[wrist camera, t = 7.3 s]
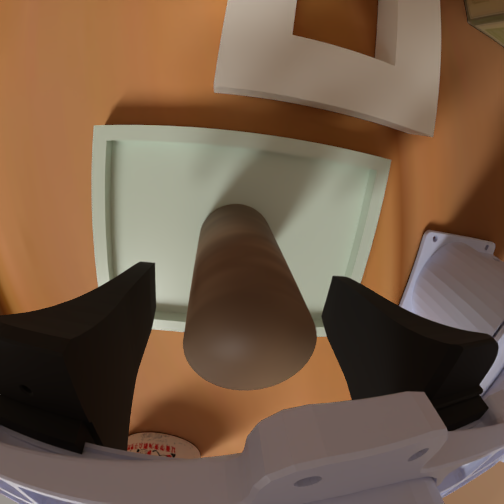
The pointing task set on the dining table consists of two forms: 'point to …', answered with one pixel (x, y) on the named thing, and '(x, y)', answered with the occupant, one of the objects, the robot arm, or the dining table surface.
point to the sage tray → (224, 193)
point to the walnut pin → (244, 305)
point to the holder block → (336, 63)
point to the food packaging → (487, 17)
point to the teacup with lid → (161, 445)
